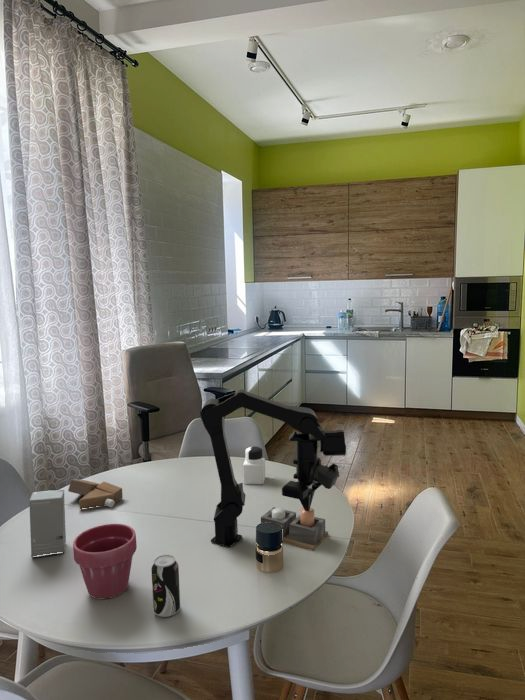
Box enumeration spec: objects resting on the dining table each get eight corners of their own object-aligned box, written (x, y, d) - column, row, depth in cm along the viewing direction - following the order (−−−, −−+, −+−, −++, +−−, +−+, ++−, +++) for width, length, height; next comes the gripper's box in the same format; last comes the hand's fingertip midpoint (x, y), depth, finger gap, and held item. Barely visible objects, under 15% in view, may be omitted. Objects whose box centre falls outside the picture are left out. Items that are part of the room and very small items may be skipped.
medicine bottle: (265, 476, 189) (264, 445, 187) (263, 484, 182) (262, 451, 180) (245, 476, 190) (245, 444, 188) (243, 484, 183) (242, 451, 181)
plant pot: (75, 578, 127) (72, 528, 125) (134, 566, 132) (132, 518, 130) (77, 613, 114) (73, 558, 112) (142, 598, 119) (139, 545, 117)
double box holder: (313, 550, 138) (313, 533, 137) (257, 535, 146) (257, 519, 145) (328, 534, 146) (328, 517, 145) (274, 521, 155) (274, 505, 154)
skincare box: (31, 559, 136) (26, 501, 134) (35, 546, 143) (30, 491, 141) (65, 554, 138) (61, 497, 136) (68, 541, 145) (64, 487, 143)
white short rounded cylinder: (281, 532, 146) (281, 515, 145) (269, 529, 147) (269, 512, 147) (287, 526, 149) (287, 509, 148) (276, 523, 151) (275, 507, 150)
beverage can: (148, 611, 114) (145, 560, 112) (170, 599, 118) (168, 550, 116) (163, 623, 110) (160, 570, 108) (185, 610, 114) (183, 559, 112)
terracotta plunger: (310, 532, 141) (310, 514, 140) (298, 528, 143) (298, 511, 142) (316, 526, 144) (316, 509, 143) (304, 523, 146) (304, 506, 145)
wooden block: (99, 524, 162) (57, 506, 169) (128, 502, 173) (87, 486, 181) (98, 503, 160) (55, 486, 167) (127, 482, 171) (85, 467, 178)
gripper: (320, 472, 128) (320, 531, 131) (347, 449, 144) (347, 503, 147) (280, 464, 134) (281, 522, 136) (311, 444, 150) (311, 495, 152)
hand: (307, 510), depth 143 cm, fingers closed, pressing on terracotta plunger
